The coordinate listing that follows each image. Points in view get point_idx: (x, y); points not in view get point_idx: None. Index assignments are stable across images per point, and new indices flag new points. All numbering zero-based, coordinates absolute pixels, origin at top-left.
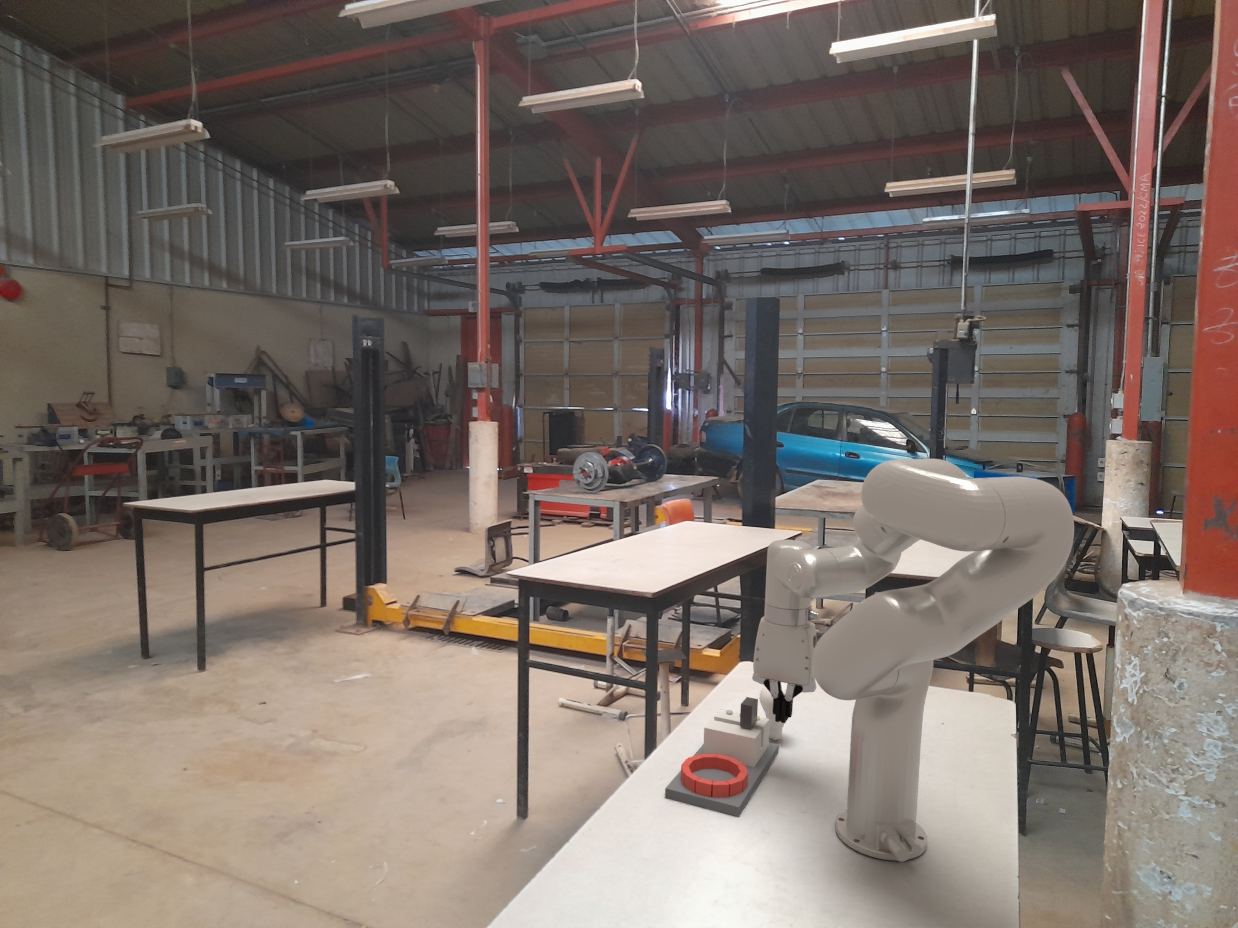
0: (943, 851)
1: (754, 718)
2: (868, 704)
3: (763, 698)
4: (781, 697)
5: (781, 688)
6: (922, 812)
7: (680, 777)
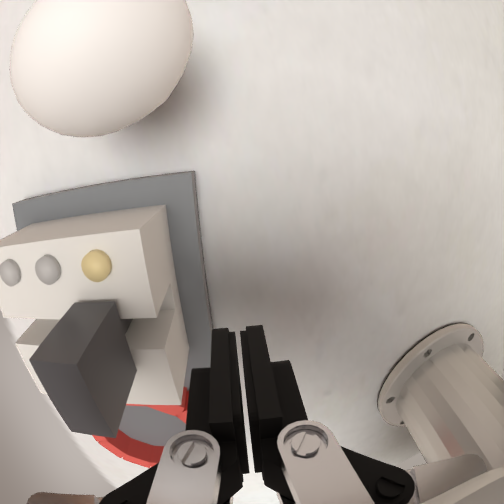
0: (486, 352)
1: (118, 352)
2: None
3: (47, 128)
4: (239, 454)
5: (218, 466)
6: (492, 276)
7: None
